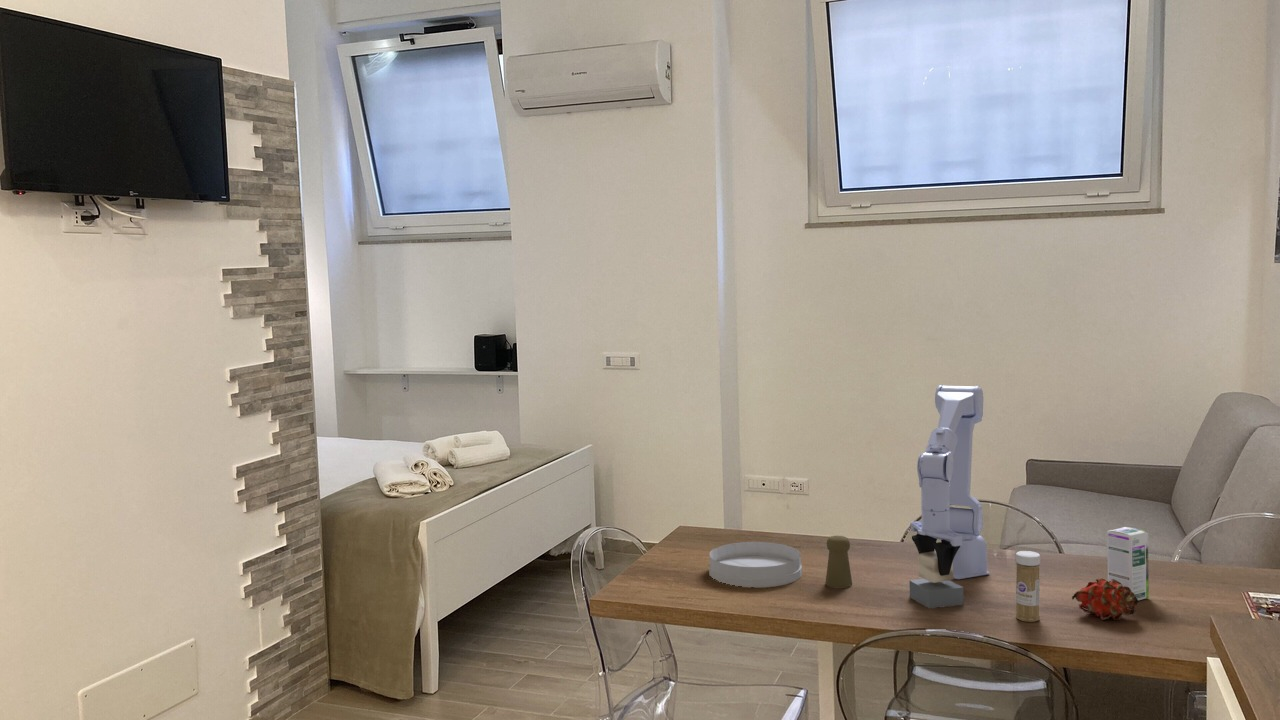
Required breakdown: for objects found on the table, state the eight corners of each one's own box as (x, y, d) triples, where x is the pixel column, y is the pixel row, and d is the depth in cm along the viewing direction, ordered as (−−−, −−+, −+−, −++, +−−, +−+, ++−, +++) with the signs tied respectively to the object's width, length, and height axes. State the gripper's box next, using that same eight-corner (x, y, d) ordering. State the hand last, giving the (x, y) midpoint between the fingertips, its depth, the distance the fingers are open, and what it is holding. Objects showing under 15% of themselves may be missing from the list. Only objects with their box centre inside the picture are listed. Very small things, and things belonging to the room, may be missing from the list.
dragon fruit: (1143, 631, 186) (1077, 631, 192) (1141, 596, 192) (1076, 596, 198) (1136, 604, 182) (1068, 605, 188) (1134, 569, 188) (1068, 570, 194)
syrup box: (1131, 603, 198) (1132, 535, 197) (1106, 595, 203) (1106, 529, 202) (1149, 598, 200) (1149, 531, 199) (1123, 591, 206) (1124, 525, 205)
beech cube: (937, 573, 206) (937, 550, 206) (953, 579, 202) (952, 556, 201) (918, 576, 204) (918, 553, 204) (933, 582, 200) (933, 559, 199)
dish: (821, 575, 224) (821, 555, 224) (750, 595, 212) (750, 573, 211) (759, 555, 242) (758, 536, 242) (690, 572, 230) (689, 552, 230)
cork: (852, 588, 213) (851, 540, 212) (825, 587, 214) (824, 539, 214) (852, 580, 219) (851, 533, 218) (825, 579, 220) (824, 532, 219)
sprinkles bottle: (1012, 619, 191) (1012, 554, 190) (1020, 613, 194) (1020, 548, 193) (1036, 624, 188) (1036, 557, 187) (1043, 617, 191) (1043, 552, 190)
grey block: (942, 594, 208) (942, 576, 208) (963, 605, 200) (963, 587, 200) (909, 598, 206) (909, 580, 206) (929, 610, 199) (929, 591, 198)
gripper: (898, 504, 207) (899, 564, 208) (942, 518, 194) (943, 583, 195) (925, 500, 210) (925, 560, 211) (970, 514, 196) (970, 578, 197)
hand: (935, 571), depth 203 cm, fingers closed on beech cube, 5 cm apart
